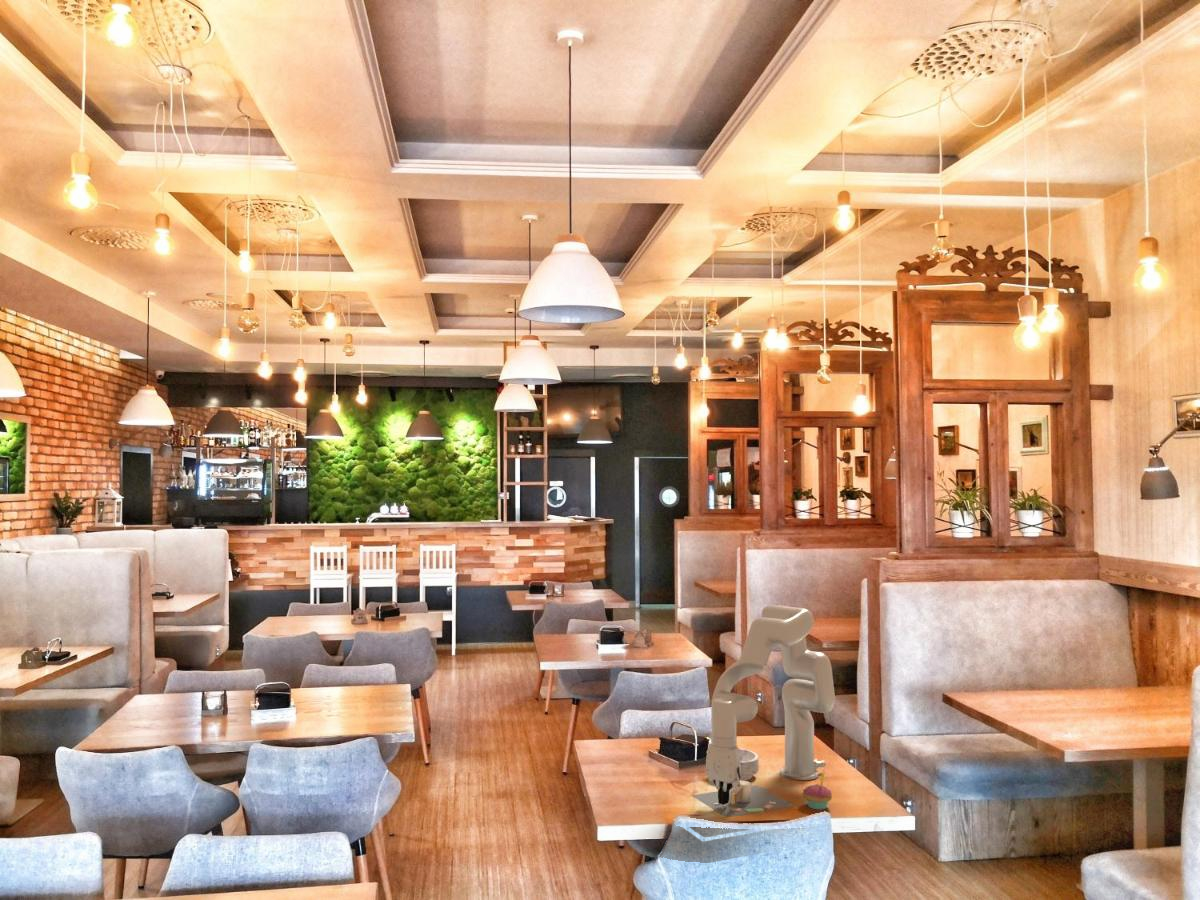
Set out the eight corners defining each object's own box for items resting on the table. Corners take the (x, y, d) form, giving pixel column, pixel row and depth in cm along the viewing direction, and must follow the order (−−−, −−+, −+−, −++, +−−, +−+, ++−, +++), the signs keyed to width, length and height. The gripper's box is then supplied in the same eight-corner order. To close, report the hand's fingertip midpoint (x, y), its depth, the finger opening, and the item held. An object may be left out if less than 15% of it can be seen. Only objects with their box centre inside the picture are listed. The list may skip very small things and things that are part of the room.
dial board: (756, 788, 295) (756, 783, 295) (795, 809, 277) (795, 804, 277) (691, 798, 285) (691, 794, 285) (726, 820, 267) (726, 816, 267)
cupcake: (827, 804, 281) (827, 764, 281) (835, 814, 272) (835, 773, 273) (799, 804, 281) (799, 764, 281) (806, 814, 272) (806, 773, 273)
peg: (736, 796, 284) (736, 779, 284) (752, 798, 282) (752, 782, 282) (724, 809, 273) (724, 792, 273) (740, 812, 271) (740, 795, 271)
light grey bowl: (726, 788, 295) (726, 763, 295) (703, 774, 309) (704, 750, 309) (767, 783, 300) (767, 758, 301) (743, 769, 315) (743, 745, 315)
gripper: (696, 738, 278) (695, 800, 277) (738, 748, 268) (738, 812, 268) (710, 733, 284) (710, 794, 283) (752, 743, 274) (751, 805, 273)
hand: (723, 802), depth 275 cm, fingers closed
